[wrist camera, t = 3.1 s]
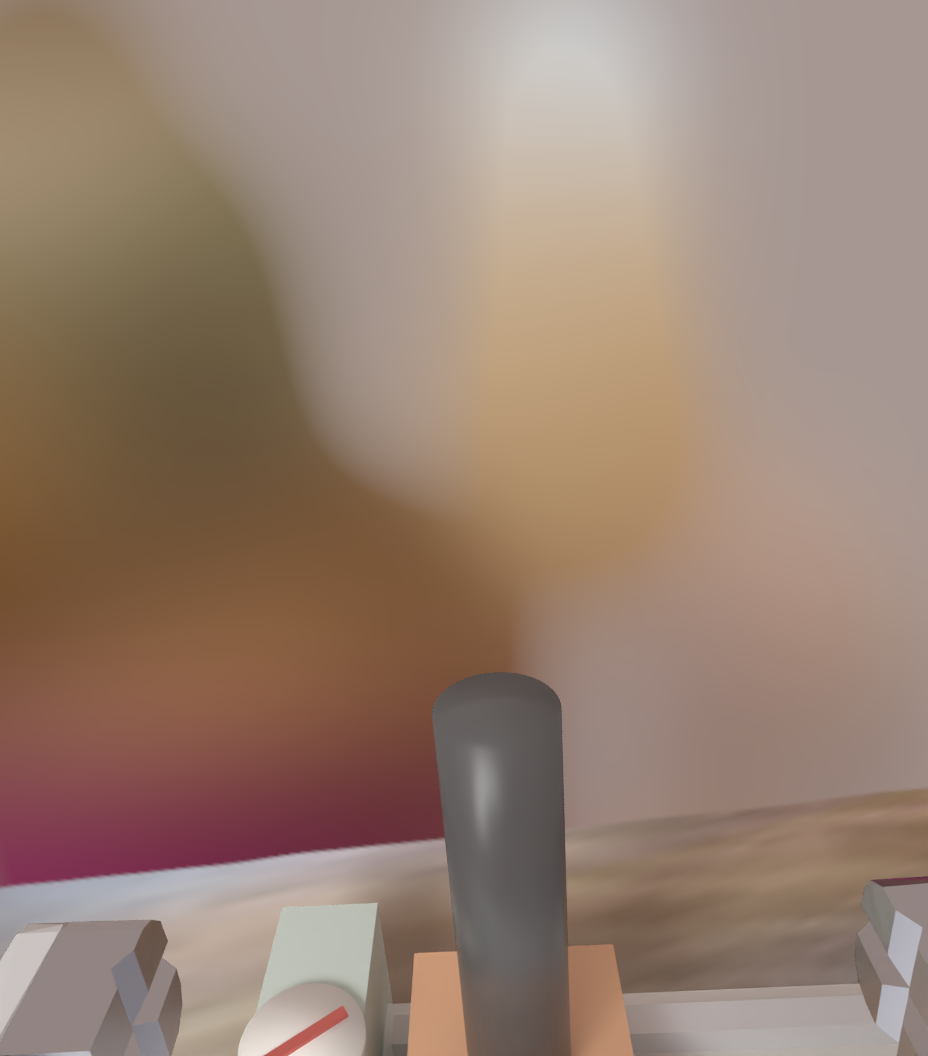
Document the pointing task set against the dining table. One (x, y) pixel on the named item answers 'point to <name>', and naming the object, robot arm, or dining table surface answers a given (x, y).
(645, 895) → the dining table surface
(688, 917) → the dining table surface
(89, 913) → the dining table surface
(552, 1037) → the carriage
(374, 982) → the track
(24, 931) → the robot arm
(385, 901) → the dining table surface
